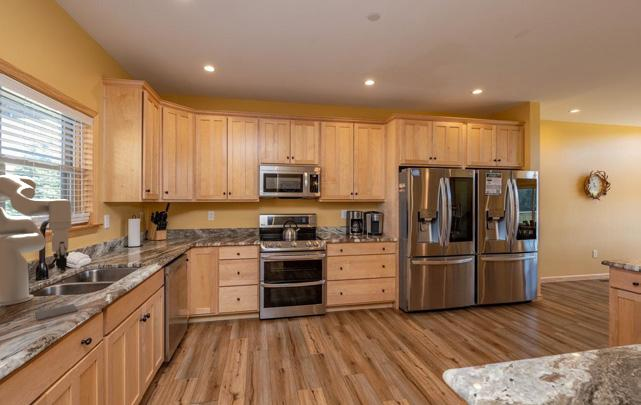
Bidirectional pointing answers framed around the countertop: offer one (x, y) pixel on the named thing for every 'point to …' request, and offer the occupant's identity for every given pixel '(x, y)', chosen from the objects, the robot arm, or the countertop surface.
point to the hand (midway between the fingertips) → (61, 265)
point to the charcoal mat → (55, 312)
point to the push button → (62, 269)
